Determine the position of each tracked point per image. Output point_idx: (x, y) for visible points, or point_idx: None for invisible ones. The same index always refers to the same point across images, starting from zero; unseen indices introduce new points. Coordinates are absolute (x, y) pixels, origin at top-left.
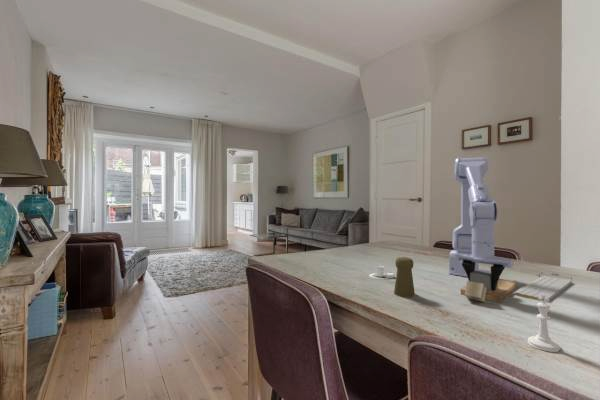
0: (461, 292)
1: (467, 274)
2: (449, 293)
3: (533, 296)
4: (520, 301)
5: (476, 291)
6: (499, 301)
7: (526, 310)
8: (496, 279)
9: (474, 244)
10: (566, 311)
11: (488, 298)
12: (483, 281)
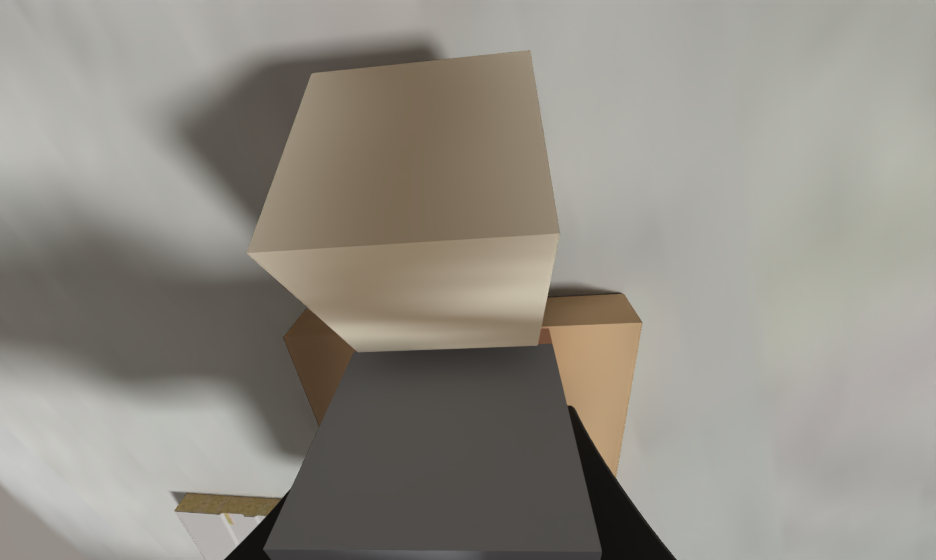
0: (623, 303)
1: (644, 533)
2: (730, 234)
3: (240, 514)
4: (256, 423)
5: (365, 119)
6: (306, 314)
7: (103, 271)
8: (252, 532)
9: None
10: (34, 419)
11: None
12: (388, 440)
